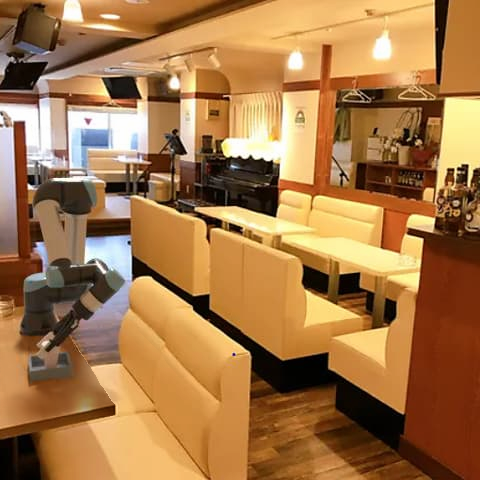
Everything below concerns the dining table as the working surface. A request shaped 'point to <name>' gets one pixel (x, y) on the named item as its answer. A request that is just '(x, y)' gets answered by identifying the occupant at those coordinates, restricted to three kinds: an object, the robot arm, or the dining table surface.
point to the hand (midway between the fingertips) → (39, 352)
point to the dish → (40, 373)
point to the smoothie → (51, 355)
